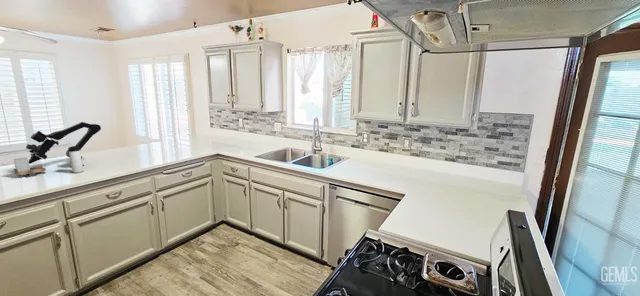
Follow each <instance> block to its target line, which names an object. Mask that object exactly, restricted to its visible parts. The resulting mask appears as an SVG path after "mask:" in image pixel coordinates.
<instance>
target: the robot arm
mask: <svg viewBox="0 0 640 296" xmlns="http://www.w3.org/2000/svg"><path fill="white" fill-rule="evenodd" d="M83 128H86V129H87V131H86V133H85V134H84V135H83V136H82V138H81V139H79V141H78V142H77V143H76V144H75V145H74V146H79V149H80V151H81V150H82V148H83V147H84V146H85V145H86V144H87V142H89V140H91V138H92V137H93V136H94V135H96V134H97V133H99V132H100V131H101V130H102V126H101V125H99V124H96V123H86V122H83V121H81V122H78V123H77V124H74V125H72V126H69V127H68V128H65V129H61V130H56V131H53V132H51V133H48V134H46V133H43V132H41V131H40V130H38V131H36V132H35V133H33V134H32V135H31V136H30V139H32V140H33V141H35V142H38V143H39V144H38V145H37V144H29V143H27V144H26V146H25V149H26V150H28V153H30V158H29V159H28V162H29V165H31V164H33V163H35V162H37V161H38V162H39V160H42V159H44V160H46V159H47V158H48V155H46V154H47V153H48V152H50V150H51V148H53V147H54V145H57V146H58V145H60V143H59V141H61V140H62V139H64V138H65V137H67V136H68V135H69V134H72V133H75V132H77V131H79V130H81V129H83ZM40 143H41V144H40ZM65 155H66V157H68V158H70V156H69V150H68V149H67V150H66V152H65ZM82 159H83V156H82V155H81V160H82ZM82 161H83V160H82ZM82 165H83V166H85V164H84V163H82ZM70 168H72V166H71V165H70Z"/></svg>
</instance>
